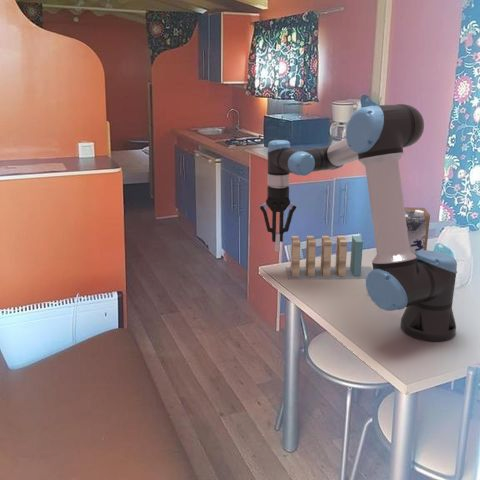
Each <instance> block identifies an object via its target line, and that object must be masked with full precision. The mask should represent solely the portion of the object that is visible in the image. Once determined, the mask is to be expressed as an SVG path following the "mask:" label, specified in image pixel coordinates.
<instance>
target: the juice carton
mask: <svg viewBox="0 0 480 480" xmlns="http://www.w3.org/2000/svg"><path fill="white" fill-rule="evenodd" d="M405 217H406V225H407V233H408V241H409V249H410V251H411V252H412V253H413V254H414V253H415V252H416V251H419V250H424V245H425V236H426V219H425V218H424V211H421V210H415V211H405Z"/></svg>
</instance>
